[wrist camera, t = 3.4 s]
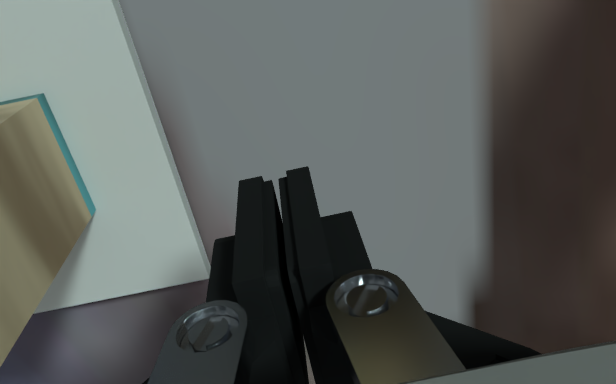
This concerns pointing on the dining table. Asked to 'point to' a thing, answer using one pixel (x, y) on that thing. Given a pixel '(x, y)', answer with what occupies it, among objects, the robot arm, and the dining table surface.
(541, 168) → the dining table surface
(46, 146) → the oak block
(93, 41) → the grey mat
